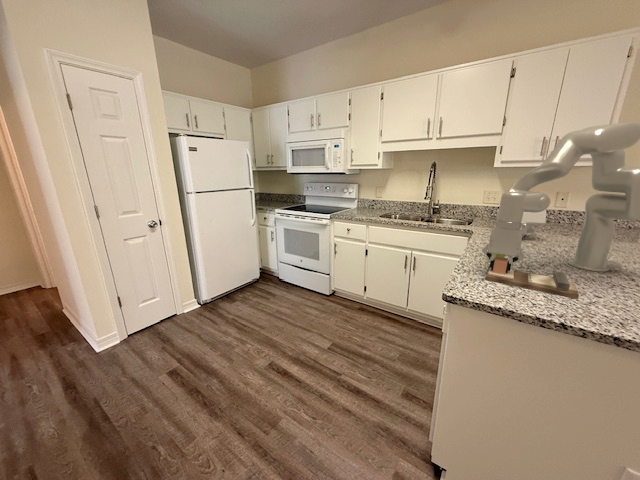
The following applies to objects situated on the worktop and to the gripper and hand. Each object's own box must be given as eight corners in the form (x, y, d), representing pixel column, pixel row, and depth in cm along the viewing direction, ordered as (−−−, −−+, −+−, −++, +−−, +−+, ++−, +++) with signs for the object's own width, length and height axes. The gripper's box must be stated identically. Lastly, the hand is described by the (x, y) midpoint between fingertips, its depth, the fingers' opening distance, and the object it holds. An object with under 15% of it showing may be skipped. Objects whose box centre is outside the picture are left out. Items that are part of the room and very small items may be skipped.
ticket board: (570, 284, 97) (573, 274, 96) (577, 299, 86) (581, 287, 85) (488, 269, 111) (489, 259, 110) (485, 279, 101) (487, 269, 99)
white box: (504, 236, 154) (506, 195, 155) (493, 239, 169) (495, 201, 171) (545, 239, 149) (546, 196, 151) (529, 241, 165) (531, 202, 166)
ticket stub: (513, 271, 105) (516, 258, 103) (513, 279, 97) (516, 265, 95) (489, 267, 109) (492, 254, 108) (488, 274, 101) (490, 261, 100)
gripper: (535, 226, 97) (525, 272, 101) (483, 221, 106) (475, 263, 111) (537, 230, 91) (526, 279, 96) (481, 224, 100) (473, 269, 105)
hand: (499, 270), depth 103 cm, fingers closed on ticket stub, 4 cm apart
